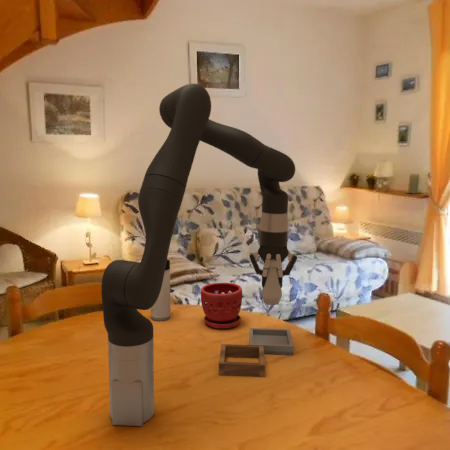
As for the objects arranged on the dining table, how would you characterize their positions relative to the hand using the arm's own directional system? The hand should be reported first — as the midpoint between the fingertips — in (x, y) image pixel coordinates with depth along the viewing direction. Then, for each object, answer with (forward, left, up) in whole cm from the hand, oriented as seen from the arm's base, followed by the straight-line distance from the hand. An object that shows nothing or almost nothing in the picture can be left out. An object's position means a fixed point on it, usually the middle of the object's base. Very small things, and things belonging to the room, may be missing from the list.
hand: (271, 288), depth 133 cm
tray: (0, 0, -17) cm, 17 cm away
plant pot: (+15, +15, -17) cm, 27 cm away
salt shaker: (0, 0, -4) cm, 4 cm away
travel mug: (+18, +35, -17) cm, 43 cm away
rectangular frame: (-13, +8, -17) cm, 23 cm away
